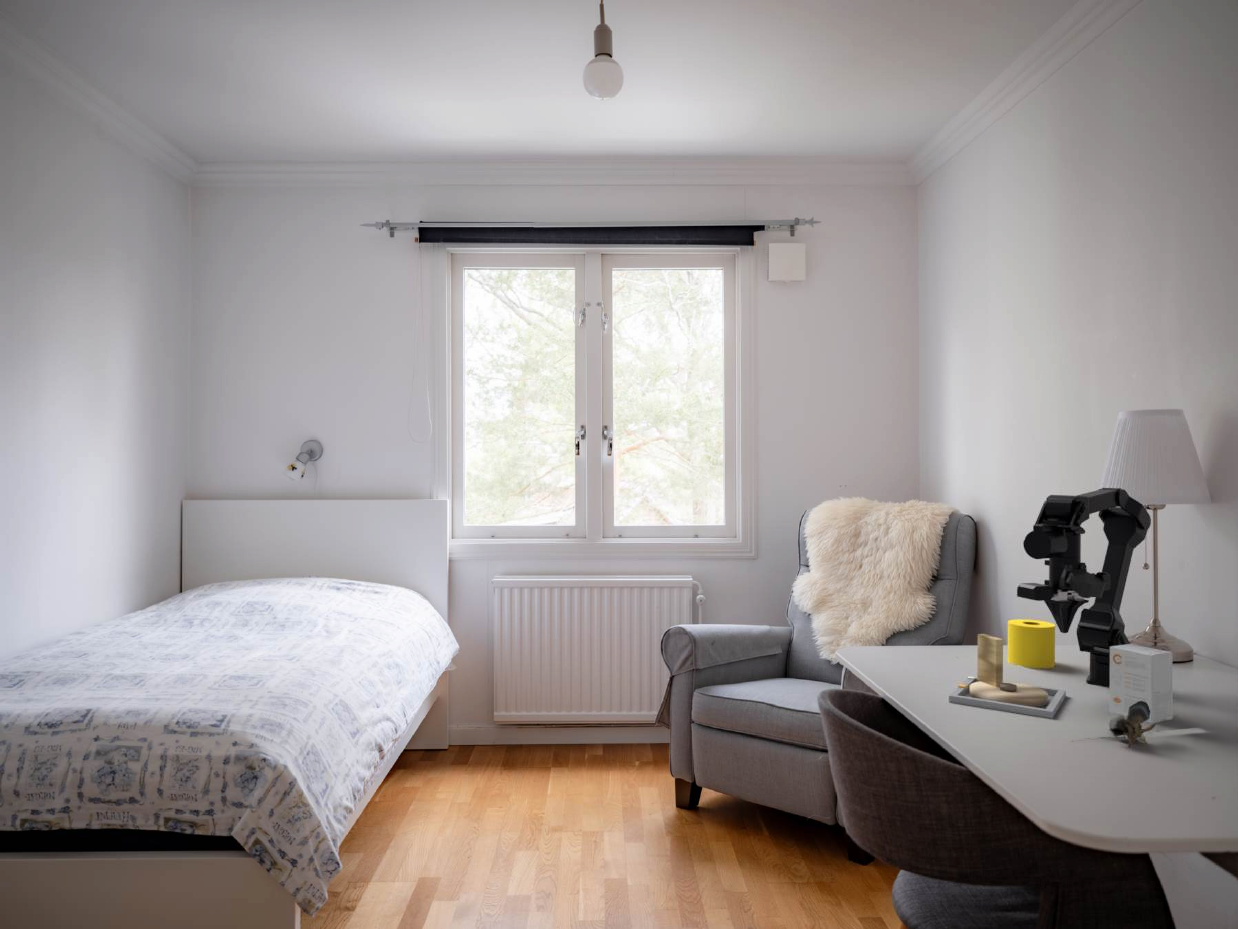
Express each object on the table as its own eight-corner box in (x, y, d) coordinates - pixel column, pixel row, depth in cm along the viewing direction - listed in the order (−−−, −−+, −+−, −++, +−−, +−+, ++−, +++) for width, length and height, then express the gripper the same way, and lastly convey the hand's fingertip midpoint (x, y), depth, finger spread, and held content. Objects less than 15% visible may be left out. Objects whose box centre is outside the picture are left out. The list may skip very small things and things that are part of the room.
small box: (1173, 723, 154) (1173, 651, 154) (1151, 728, 151) (1152, 655, 151) (1129, 711, 161) (1130, 643, 161) (1108, 715, 158) (1108, 646, 158)
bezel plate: (970, 685, 179) (970, 675, 179) (1065, 700, 168) (1065, 688, 168) (948, 706, 164) (948, 694, 164) (1052, 722, 153) (1052, 710, 153)
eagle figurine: (1170, 745, 138) (1161, 720, 146) (1143, 708, 139) (1136, 685, 147) (1124, 763, 141) (1118, 738, 149) (1098, 727, 142) (1093, 703, 150)
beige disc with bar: (1065, 705, 161) (1065, 648, 161) (1002, 711, 157) (1003, 652, 157) (1009, 685, 176) (1009, 632, 175) (951, 689, 172) (951, 635, 172)
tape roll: (1036, 670, 192) (1037, 629, 192) (998, 661, 201) (998, 621, 201) (1064, 665, 197) (1064, 625, 197) (1025, 656, 206) (1025, 618, 206)
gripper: (1056, 562, 163) (1055, 643, 163) (1135, 560, 167) (1134, 638, 167) (1015, 555, 173) (1014, 631, 173) (1090, 554, 178) (1089, 628, 178)
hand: (1064, 632), depth 173 cm, fingers closed
